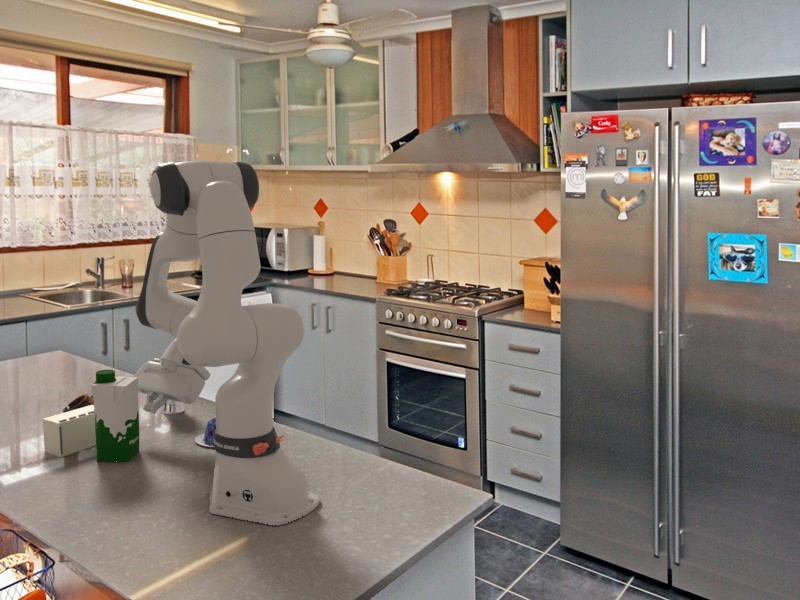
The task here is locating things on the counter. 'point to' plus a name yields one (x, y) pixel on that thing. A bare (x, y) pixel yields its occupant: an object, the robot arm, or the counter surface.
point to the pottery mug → (79, 403)
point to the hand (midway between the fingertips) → (148, 411)
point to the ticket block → (69, 431)
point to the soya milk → (116, 416)
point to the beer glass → (172, 406)
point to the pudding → (207, 434)
